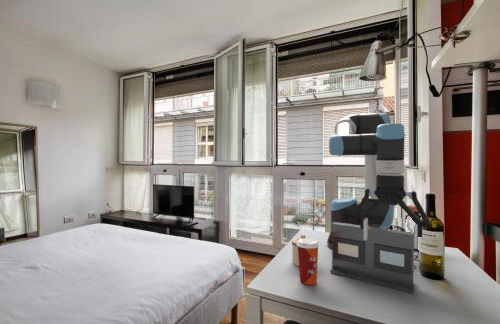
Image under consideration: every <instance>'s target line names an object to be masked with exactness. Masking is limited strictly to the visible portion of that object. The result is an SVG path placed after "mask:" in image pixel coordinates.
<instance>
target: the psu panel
mask: <svg viewBox="0 0 500 324" xmlns="http://www.w3.org/2000/svg"><path fill="white" fill-rule="evenodd" d="M331 250H332V251H331V252H332V256H331V258H332V261H331V264H332V265H331V266H332V267H331V268H330V270H329V272H330V274H334V275H337V276H342V277H345V278H348V279H353V280H357V281H360V282H365V283H368V284H373V285H377V286H380V287H384V288H388V289H393V290H396V291H400V292H404V293H408V294H414V281H415V280H414V273H415V272H414V271H415V269H414V268H415V267H414V265H415V263H414V262H415V261H414V259H415V257H414V256H415V250H414V233H411V232H405V231H403V230H395V229H389V228H387V229H384V228H375V227H368V238H367V240H364V229H361V228H360V225H353V224H346V223H339V222H334V223H333V224H332V249H331Z"/></svg>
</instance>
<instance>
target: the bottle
mask: <svg viewBox="0 0 500 324" xmlns="http://www.w3.org/2000/svg"><path fill="white" fill-rule="evenodd" d="M407 206H408V207H409V208H410V209H411V210H412V211H413V212H414V214H415V215H416V216H417V217H418V218H419V219H420V218H421V215H420V214H419V212H418V210H417V208H416V207H415V205H414V204H409V205H407ZM408 216H409V215H408V214H407V213H406V215H405V218H404V219H405V222H406V219H407V217H408ZM414 252H418V246H417V249H414Z"/></svg>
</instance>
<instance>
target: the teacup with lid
mask: <svg viewBox="0 0 500 324" xmlns="http://www.w3.org/2000/svg"><path fill="white" fill-rule="evenodd" d="M303 238H308V237H307V236H306V234H300V236H298V237H295V238H293V239H292V241H291V245H292V246H291V247H292V248H291V257H292V261H291V262H292V264H293V265H294V266H296V267H299V259H298V246H297V243H298V240H299V239H303Z"/></svg>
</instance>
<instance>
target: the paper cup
mask: <svg viewBox="0 0 500 324" xmlns="http://www.w3.org/2000/svg"><path fill="white" fill-rule="evenodd" d="M297 246H298V259H299V266H298V272H299V279H300V280H299V281H300V282H301V284H303V285H307V286H312V285H315V284H316V283H317V280H318V279H317V278H318V261H319V259H318V258H319V257H318V256H319V255H318V254H319V248H320V245H319V241H318V240H317V239H314V238H310V237H307V238H303V239H299V240H298V243H297Z"/></svg>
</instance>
